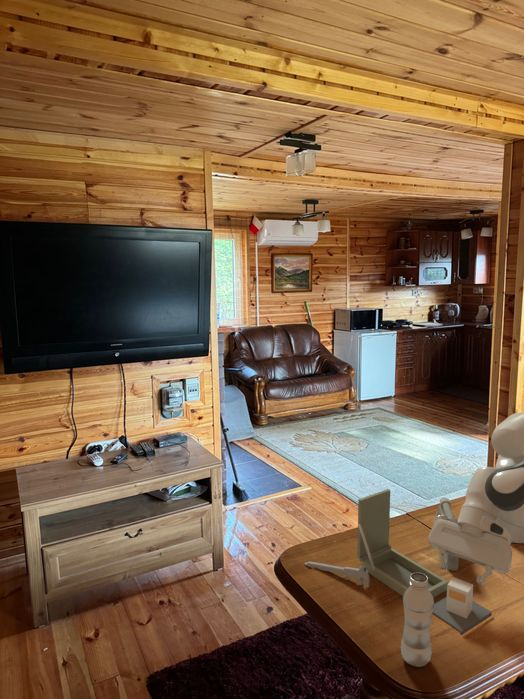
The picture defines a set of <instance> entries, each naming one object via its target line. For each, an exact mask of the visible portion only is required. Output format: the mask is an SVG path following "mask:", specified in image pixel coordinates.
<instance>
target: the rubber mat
mask: <svg viewBox="0 0 524 699" xmlns="http://www.w3.org/2000/svg"><path fill="white" fill-rule="evenodd" d="M446 603H447V596H446V597H444V598H442V599H440V600H438V601H437V602H434V607H433V611H432V615H434V616H436V617H437V618H438V619H440V620H442V621H443V622H444V623H446V624H447V625H449V626H451V627H452V628H453V629H455V630H456V631H458V632H459V633H460V636H463V635H464V634H465V633H468V632H469V631H470V630H472V629H473V628H475V627H476V626H478V625H479V624H481V623H482V622H484V621H486V620H487V619H489V618H490V617H491V616H492V615H493V614H492V611H490V609H487V608H485V606H482V605H480V604H479V603H478V602H476V601H474V600H472V611H471V612H470V614H469V616H468V617H467V619H466V618H464V617H461V616H459V615H457V614H454V613H452V612H450V611H447V610H446Z"/></svg>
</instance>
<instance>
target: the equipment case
mask: <svg viewBox="0 0 524 699" xmlns="http://www.w3.org/2000/svg"><path fill="white" fill-rule="evenodd" d="M357 509H358V510H357V555H356V556H357V558H358V559H359V561H360V562H361V566H362V568H364V567H365V568H366V570H367V571H368V573H369V575H371V576H372V577H374V578H375V579H377V580H378V581H380V582H381V583H382V584H384V585H386V586H387V587H388V588H389V589H391V590H393V591H395V592H396V593H397V594H398V595H400V596H401V597H403V595H404V593H405V591H406V590H407V588H408V587H409V586H410V576H411V574H412V573H422V574H425V575H426V576H427V577H428V590H429V591H430V592H431V594H432V596H433V599H434V598H436V597H438V596H439V595H441V594H444V593H445V592H447V585H448V583H449V581H448V580H446V579H445V578H443V577H441V576H440V575H438V574H436V573H435V572H433V571H431V570H429V569H428V568H426V567H424V565H421V564H420V563H419V562H418V563H417V562H416V561H414V560H413V559H411V558H409V557H408V556H406V555H404V554H402V553H401V552H400V551H397V550H396V549H395V548H393V547H392V546H391V544H390V516H391V515H390V514H391V511H390V510H391V490H390V489H388V488H387V489H384V490H382V491H381V490H380V491H378V492H376V493H373V494H370V495H367V496H364V497H361V498H359V499H358V508H357Z"/></svg>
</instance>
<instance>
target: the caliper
mask: <svg viewBox="0 0 524 699" xmlns="http://www.w3.org/2000/svg"><path fill="white" fill-rule="evenodd" d="M303 566H306V567H308V568H310V567H311V569H315V568H316V569H318V570H320V571H325V572H330V573H336V574H339V575H340V574H341V575H345V578H349V579H354V578H355V579H356V581H357V584H358V585H359V586H363V584H365V588H366V589H369V588H370V582H371V581H370V580H371V578H370V574H369V573H368V571H367V570H366V568H365V567H364V568H362V565H360V566H358V568H357V567H350V566H345V567H342V566H337V565H331V564H327V563H320V562H315V561H307V562H304V564H303Z"/></svg>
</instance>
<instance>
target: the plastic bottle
mask: <svg viewBox="0 0 524 699" xmlns="http://www.w3.org/2000/svg"><path fill="white" fill-rule="evenodd" d="M402 602H403V603H402V604H403V610H404V611H403V612H404V627H403V635H402V638H401V643H400V652H401V656H402V659H404V662H406V663H407V664H408V665H409V666H412V667H417V668H421V667H424V666H426V665H428V663H429V662H430V661H431V658H432V654H433V653H432V652H433V651H432V642H431V632H430V631H431V622H432V615H433V613H432V611H433V607H434V604H435V601H434V598H433V596H432V594H431V592H430V591H429V590H428V577H427V576H426V575H425V574H422V573H412V574H411V576H410V586H409V587H408V588H407V590H406V591H405V593H404V595H403V596H402Z"/></svg>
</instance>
